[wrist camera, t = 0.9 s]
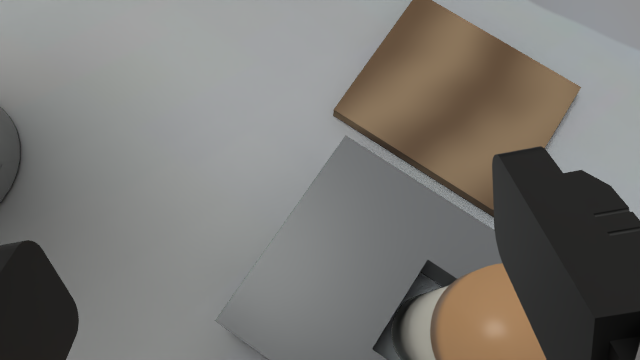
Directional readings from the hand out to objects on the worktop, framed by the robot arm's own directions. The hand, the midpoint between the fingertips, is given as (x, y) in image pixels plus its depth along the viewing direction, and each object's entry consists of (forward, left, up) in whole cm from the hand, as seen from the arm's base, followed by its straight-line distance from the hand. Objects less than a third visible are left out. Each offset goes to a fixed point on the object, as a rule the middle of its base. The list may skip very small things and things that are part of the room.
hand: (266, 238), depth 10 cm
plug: (+7, +3, -23) cm, 25 cm away
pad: (+1, +16, -23) cm, 28 cm away
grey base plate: (+7, +3, -23) cm, 25 cm away
